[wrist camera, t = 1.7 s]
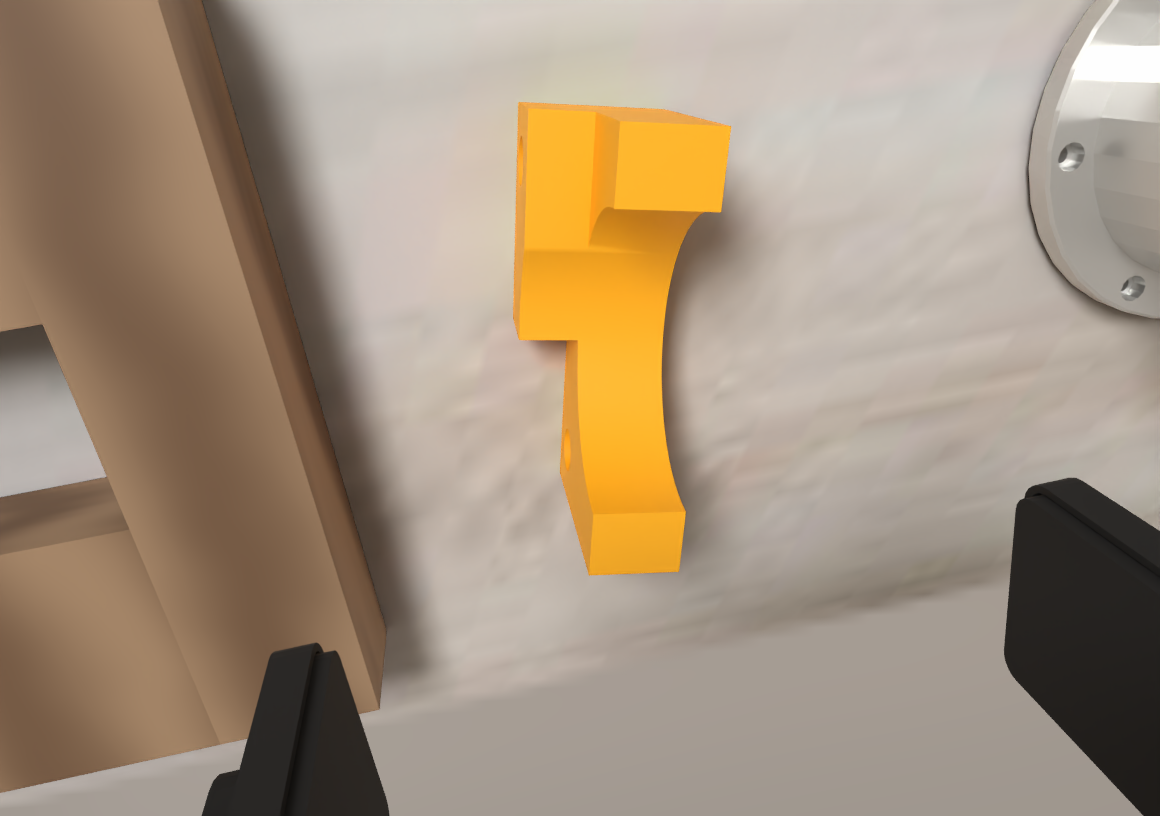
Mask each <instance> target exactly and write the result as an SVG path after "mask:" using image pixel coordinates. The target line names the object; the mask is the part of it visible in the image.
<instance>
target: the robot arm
mask: <svg viewBox="0 0 1160 816" xmlns="http://www.w3.org/2000/svg"><path fill="white" fill-rule="evenodd" d="M1029 183H1030V201H1031V207H1032V211H1033V215H1034V218H1035V222H1036V226H1037V230H1038V234H1039V237H1040V239H1041V241H1042V243H1043V245H1044V246H1045V248H1046V250H1047V252H1048V254H1049V256H1050V258H1051V260H1052V262H1053V263H1054V265H1055V266H1056V267H1057V268H1058V269H1059V270H1060V272H1061V273H1062V274H1063V275H1064V276H1065V277H1066V278H1067V280H1068V281H1069V282H1070V283H1071V284H1072V285H1073V286H1075V287H1076V288H1078V289H1079V290H1081V291H1082V292H1084V293H1085V294H1087V295H1088V296H1090V297H1091V298H1092V299H1094V300H1096V301H1098V302H1101V303H1103V304H1106V305H1108V306H1111V307H1113V308H1116V309H1118V310H1121V311H1123V312H1127V313H1131V314H1136V315H1140V316H1144V317H1149V318H1160V0H1095V2H1094V3H1093V4H1092V5H1091V6H1090V7H1089V8H1088V10H1087V11H1086V13H1085V14H1084V16H1083V17H1082V19H1081V21H1080V22H1079V24H1078V25H1077V27H1076V28H1075V30H1074V32H1073V33H1072V35H1071V36H1070V38H1069V39H1068V41H1067V43H1066V44H1065V46H1064V47H1063V49H1062V51H1061V54H1060V56H1059V58H1058V60H1057V62H1056V65H1055V67H1054V69H1053V71H1052V73H1051V76H1050V78H1049V80H1048V82H1047V84H1046V87H1045V89H1044V93H1043V96H1042V100H1041V103H1040V107H1039V110H1038V114H1037V117H1036V121H1035V124H1034V128H1033V135H1032V143H1031V152H1030V160H1029ZM1004 655H1005V661H1006V664H1007V666H1008V668H1009V670H1010V672H1011V674H1012V676H1013V677H1014V678H1015V680H1016V681H1017V682H1018V683H1019V684H1020V685H1021V686H1022V687H1023V688H1024V689H1025V690H1026V691H1027V692H1028V693H1029V695H1030V696H1031V697H1032V698H1033V699H1034V700H1035V701H1036V702H1037V703H1038V704H1039V705H1040V706H1041V707H1042V708H1043V709H1044V710H1045V712H1046V713H1047V714H1048V715H1049V716H1050V717H1051V718H1052V719H1053V720H1054V721H1055V722H1056V723H1057V724H1058V725H1059V726H1060V727H1061V729H1062V730H1063V731H1064V732H1065V733H1066V734H1067V735H1068V736H1069V737H1070V738H1071V739H1072V740H1073V741H1074V742H1075V743H1076V744H1077V746H1079V748H1080V749H1081V750H1082V751H1083V752H1084V753H1085V754H1086V755H1087V756H1088V757H1089V758H1090V759H1091V760H1092V761H1093V762H1094V764H1096V766H1097V767H1098V768H1099V769H1100V770H1101V771H1102V772H1103V773H1104V774H1105V775H1106V776H1107V777H1108V779H1109V780H1111V782H1112V783H1113V784H1114V785H1115V786H1116V787H1117V788H1118V789H1119V790H1120V791H1121V792H1122V793H1123V794H1124V796H1125V797H1126V798H1127V799H1128V800H1129V801H1130V802H1131V803H1132V804H1133V805H1134V806H1135V807H1136V808H1137V809H1138V810H1139V811H1140V812H1141V814H1142V815H1143V816H1160V531H1159V530H1157V529H1156V528H1154V527H1153V526H1151V525H1149V524H1148V523H1146V522H1145V521H1143V520H1142V519H1140V518H1139V517H1137V516H1136V515H1134V514H1133V513H1131V512H1129V511H1128V510H1126V509H1125V508H1123V507H1122V506H1120V505H1119V504H1117V503H1116V502H1114V501H1113V500H1111V499H1109V498H1108V497H1106V496H1105V495H1103V494H1102V493H1100V492H1099V491H1097V490H1096V489H1094V488H1093V487H1091V486H1089V485H1088V484H1086V483H1085V482H1083V481H1081V480H1079V479H1077V478H1066V479H1062V480H1057V481H1053V482H1048V483H1043V484H1039V485H1034V486H1032V487H1030V488H1029V489H1028V490H1027V492H1026V494H1025V498H1024V499H1022V500H1020V501H1019V502H1018V504H1017V507H1016V514H1015V526H1014V538H1013V550H1012V562H1011V574H1010V586H1009V599H1008V610H1007V623H1006V634H1005V646H1004ZM202 816H389V810H388V804H387V800H386V796H385V793H384V791H383V787H382V784H381V781H380V778H379V775H378V772H377V769H376V766H375V763H374V760H373V756H372V753H371V751H370V747H369V744H368V741H367V738H366V735H365V732H364V729H363V726H362V723H361V720H360V717H359V714H358V711H357V707H356V704H355V701H354V698H353V695H352V692H351V689H350V686H349V683H348V680H347V677H346V674H345V671H344V668H343V665H342V662H341V659H340V656H339V654H338V652H337V651H335V650H333V651H329V652H324V651H323V649H322V647H321V646H320V644H319V643H311V644H307V645H302V646H298V647H293V648H289V649H284V650H279V651H275V652H273V653H272V654H271V655H270V658H269V661H268V664H267V668H266V672H265V676H264V679H263V683H262V687H261V691H260V694H259V698H258V702H257V706H256V709H255V713H254V717H253V721H252V725H251V728H250V732H249V736H248V740H247V743H246V747H245V751H244V755H243V758H242V762H241V766H240V770H236V771H232V772H227V773H223V774H219V775H218V776H217V778H216V779H215V780H214V781H213V783H212V786H211V788H210V790H209V793H208V796H207V800H206V803H205V806H204V810H203V813H202Z"/></svg>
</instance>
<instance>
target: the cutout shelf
mask: <svg viewBox="0 0 1160 816" xmlns="http://www.w3.org/2000/svg"><path fill="white" fill-rule="evenodd" d="M41 324H43V327H44V329H45V331H46V334H47V336H48V339H49V341H50V343H51V346H52V348H53V350H54V353H55V355H56V357H57V360H58V362H59V364H60V367H61V369H62V372H63V374H64V376H65V379H66V381H67V383H68V386H69V388H70V390H71V393H72V395H73V398H74V400H75V402H76V405H77V407H78V409H79V412H80V414H81V416H82V419H83V421H84V423H85V426H86V428H87V431H88V433H89V435H90V438H91V440H92V442H93V445H94V447H95V449H96V452H97V454H98V456H99V459H100V461H101V464H102V466H103V468H104V471H105V473H106V475H107V477H105V478H100V479H95V480H89V481H84V482H79V483H74V484H69V485H63V486H58V487H53V488H48V489H42V490H37V491H32V492H27V493H21V494H16V495H11V496H6V497H0V793H2V792H6V791H11V790H16V789H20V788H25V787H29V786H34V785H38V784H43V783H47V782H52V781H57V780H61V779H66V778H70V777H75V776H79V775H84V774H88V773H93V772H97V771H102V770H107V769H111V768H116V767H120V766H125V765H129V764H134V763H138V762H143V761H148V760H152V759H157V758H161V757H166V756H170V755H175V754H179V753H184V752H188V751H193V750H198V749H202V748H207V747H211V746H216V745H220V744H225V743H229V742H234V741H239V740H243V739H248V736H249V732H250V728H251V725H252V721H253V717H254V713H255V709H256V706H257V702H258V698H259V694H260V691H261V687H262V683H263V679H264V676H265V672H266V668H267V664H268V661H269V658H270V655H271V654H272V653H273V652H275V651H279V650H284V649H289V648H293V647H298V646H302V645H307V644H311V643H319V644H320V646H321V647H322V649H323V651H324V652H329V651H333V650H335V651H337V652H338V654H339V656H340V659H341V662H342V665H343V668H344V671H345V674H346V677H347V680H348V683H349V686H350V689H351V692H352V695H353V698H354V701H355V704H356V707H357V711H358V714H361V713H366V712H370V711H375V710H379V709H380V698H381V687H382V676H383V665H384V654H385V643H386V632H387V631H386V627H385V624H384V620H383V617H382V614H381V610H380V607H379V603H378V600H377V597H376V593H375V590H374V586H373V583H372V580H371V576H370V573H369V569H368V566H367V562H366V559H365V556H364V552H363V549H362V545H361V542H360V539H359V535H358V532H357V528H356V525H355V522H354V518H353V515H352V511H351V508H350V505H349V501H348V498H347V494H346V491H345V488H344V484H343V481H342V477H341V474H340V470H339V467H338V464H337V460H336V457H335V453H334V450H333V447H332V443H331V440H330V436H329V433H328V430H327V426H326V423H325V419H324V416H323V413H322V409H321V406H320V402H319V399H318V396H317V392H316V389H315V385H314V382H313V378H312V375H311V372H310V368H309V365H308V361H307V358H306V355H305V351H304V348H303V344H302V341H301V338H300V334H299V331H298V327H297V324H296V321H295V317H294V314H293V310H292V307H291V303H290V300H289V297H288V293H287V290H286V286H285V283H284V280H283V276H282V273H281V269H280V266H279V263H278V259H277V256H276V252H275V249H274V246H273V242H272V239H271V235H270V232H269V229H268V225H267V222H266V218H265V215H264V211H263V208H262V205H261V201H260V198H259V194H258V191H257V188H256V184H255V181H254V177H253V174H252V171H251V167H250V164H249V160H248V157H247V154H246V150H245V147H244V143H243V140H242V137H241V133H240V130H239V126H238V123H237V119H236V116H235V113H234V109H233V106H232V102H231V99H230V96H229V92H228V89H227V85H226V82H225V79H224V75H223V72H222V68H221V65H220V62H219V58H218V55H217V51H216V48H215V45H214V41H213V38H212V34H211V31H210V27H209V24H208V21H207V17H206V14H205V10H204V7H203V4H202V0H0V332H1V331H7V330H12V329H18V328H24V327H29V326H35V325H41Z"/></svg>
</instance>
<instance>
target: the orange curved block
mask: <svg viewBox="0 0 1160 816" xmlns="http://www.w3.org/2000/svg"><path fill="white" fill-rule="evenodd" d="M730 132H731V126H728V125H724V124H720V123H716V122H712V121H708V120H704V119H700V118H696V117H692V116H688V115H685V114H681V113H677V112H673V111H669V110H665V109H647V108H627V107H607V106H587V105H567V104H547V103H527V102H518V139H517V180H516V221H515V262H514V303H513V319H514V323H515V327H516V330H517V334H518V338H519V340H567V342H566V362H565V382H564V401H563V421H562V441H561V461H560V474H561V478H562V481H563V485H564V488H565V492H566V496H567V499H568V503H569V506H570V510H571V513H572V517H573V520H574V524H575V528H576V531H577V535H578V538H579V542H580V545H581V549H582V552H583V556H584V559H585V563H586V567H587V570H588V574H589V575H610V574H635V573H659V572H679V567H680V558H681V550H682V541H683V533H684V524H685V516H686V511H685V509H684V507H683V505H682V502H681V500H680V497H679V495H678V492H677V488H676V485H675V482H674V478H673V474H672V470H671V466H670V461H669V456H668V450H667V444H666V436H665V428H664V418H663V405H662V344H663V330H664V320H665V312H666V304H667V298H668V292H669V287H670V282H671V277H672V273H673V269H674V265H675V262H676V258H677V255H678V252H679V249H680V247H681V244H682V242H683V239H684V237H685V235H686V233H687V231H688V229H689V228H690V226H691V225H692V223H693V222H694V221H695V219H696V218H697V217H698V216H699V215H701V214H702V213H704V212H721V208H722V200H723V191H724V183H725V174H726V166H727V157H728V149H729V140H730Z"/></svg>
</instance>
